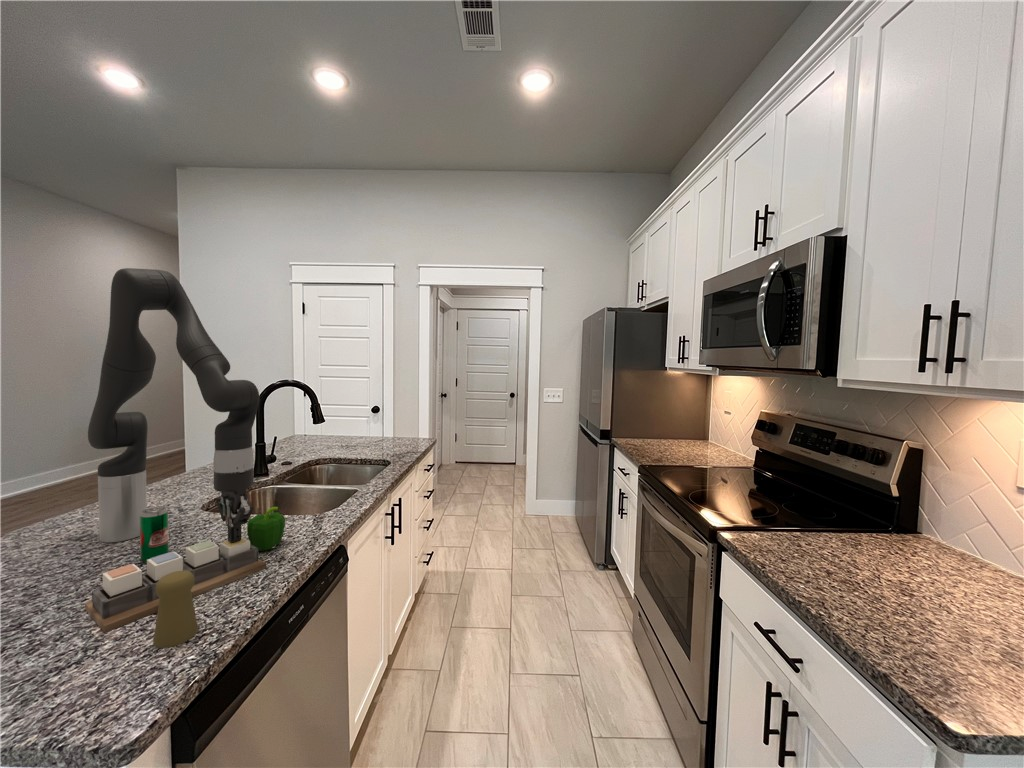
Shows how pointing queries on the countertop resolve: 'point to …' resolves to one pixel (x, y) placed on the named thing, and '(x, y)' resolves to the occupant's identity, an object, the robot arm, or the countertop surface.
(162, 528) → the soda can
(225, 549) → the key
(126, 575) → the key
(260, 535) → the bell pepper
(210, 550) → the key
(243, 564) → the keypad
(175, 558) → the key
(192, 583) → the cork
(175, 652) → the countertop surface
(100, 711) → the countertop surface
